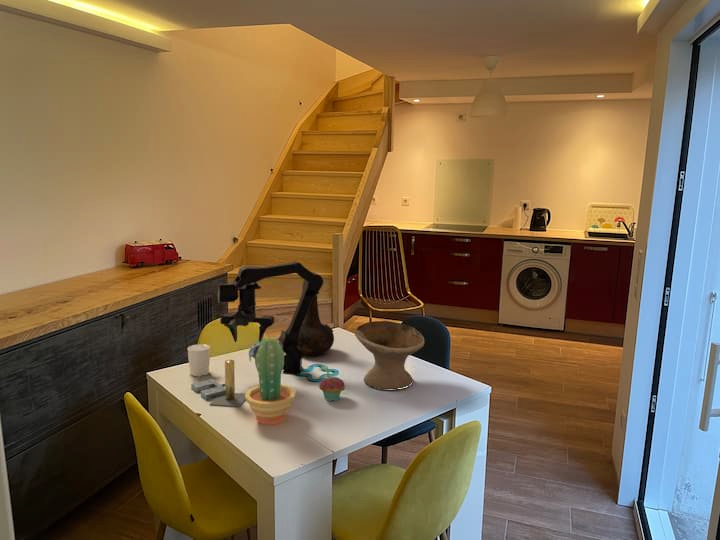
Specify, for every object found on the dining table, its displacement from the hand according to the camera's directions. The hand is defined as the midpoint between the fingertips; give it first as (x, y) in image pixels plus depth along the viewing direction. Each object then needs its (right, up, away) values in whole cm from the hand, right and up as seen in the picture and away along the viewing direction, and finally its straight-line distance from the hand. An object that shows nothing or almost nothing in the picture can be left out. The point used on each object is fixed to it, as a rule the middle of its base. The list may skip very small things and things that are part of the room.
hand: (247, 342), depth 193 cm
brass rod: (-2, -16, -20) cm, 25 cm away
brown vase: (+21, -9, +31) cm, 38 cm away
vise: (-10, -15, -12) cm, 22 cm away
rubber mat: (-2, -16, -20) cm, 26 cm away
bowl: (+52, -15, -1) cm, 54 cm away
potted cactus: (+14, -19, -32) cm, 40 cm away
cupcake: (+32, -17, -16) cm, 39 cm away
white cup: (-19, -12, +4) cm, 23 cm away
